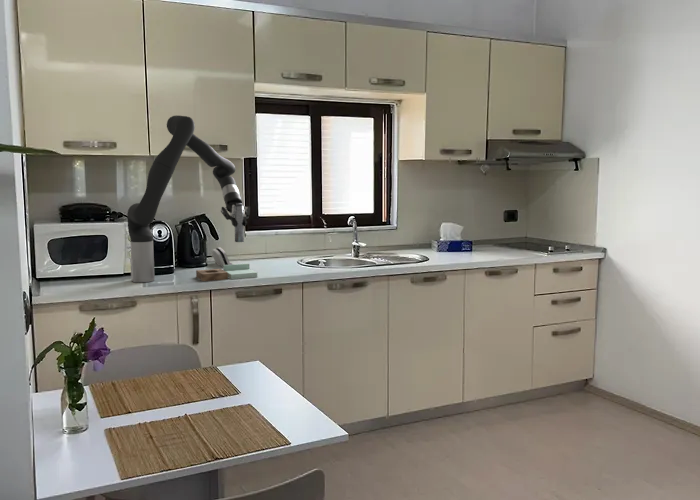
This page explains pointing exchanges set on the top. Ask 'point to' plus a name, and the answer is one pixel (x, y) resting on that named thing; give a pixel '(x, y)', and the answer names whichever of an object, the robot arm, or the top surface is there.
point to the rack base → (239, 271)
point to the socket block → (211, 274)
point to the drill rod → (239, 223)
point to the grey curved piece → (220, 257)
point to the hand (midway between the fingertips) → (240, 225)
